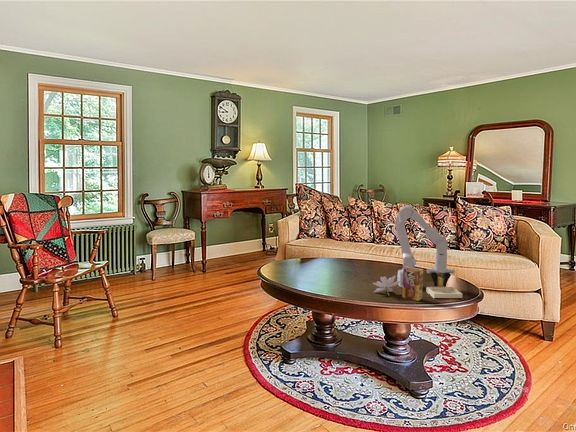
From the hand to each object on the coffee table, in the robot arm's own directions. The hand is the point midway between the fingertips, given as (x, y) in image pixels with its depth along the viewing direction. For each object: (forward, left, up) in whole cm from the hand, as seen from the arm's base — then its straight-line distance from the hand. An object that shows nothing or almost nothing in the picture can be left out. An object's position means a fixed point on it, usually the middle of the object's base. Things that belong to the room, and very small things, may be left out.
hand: (439, 286), depth 227 cm
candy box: (-20, -17, -2) cm, 26 cm away
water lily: (-31, -9, -2) cm, 32 cm away
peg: (0, 0, -1) cm, 1 cm away
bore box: (-2, -11, -1) cm, 11 cm away
